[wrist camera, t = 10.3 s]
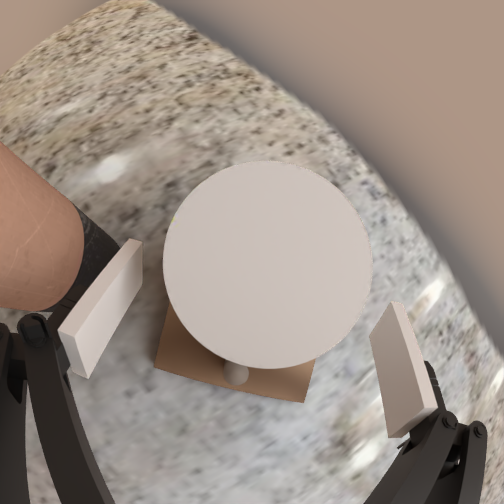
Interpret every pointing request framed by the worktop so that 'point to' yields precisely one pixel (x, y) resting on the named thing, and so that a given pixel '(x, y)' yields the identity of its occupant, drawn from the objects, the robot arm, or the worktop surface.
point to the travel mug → (44, 240)
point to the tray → (212, 370)
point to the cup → (267, 264)
